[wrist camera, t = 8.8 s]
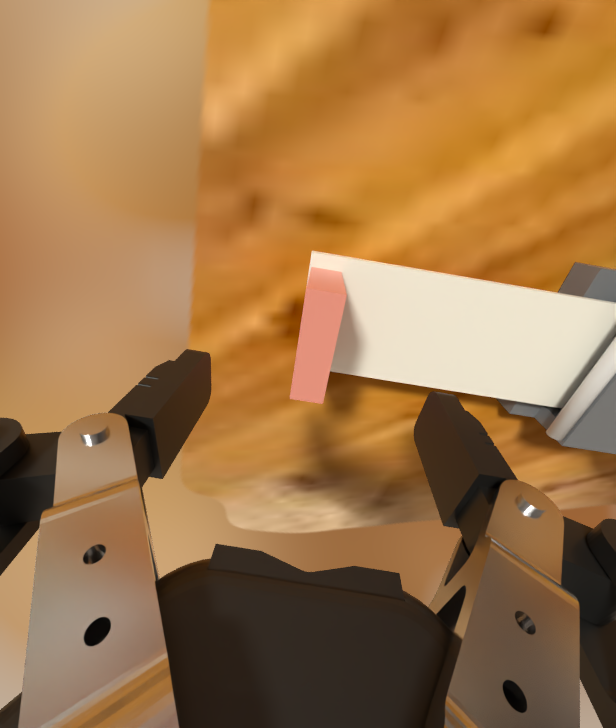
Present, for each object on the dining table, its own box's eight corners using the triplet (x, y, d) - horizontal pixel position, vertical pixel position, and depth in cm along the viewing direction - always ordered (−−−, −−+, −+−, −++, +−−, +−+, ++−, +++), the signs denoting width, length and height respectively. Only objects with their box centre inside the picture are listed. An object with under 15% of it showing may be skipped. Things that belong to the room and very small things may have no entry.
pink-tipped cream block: (312, 250, 17) (306, 269, 12) (635, 305, 18) (754, 344, 13) (295, 361, 21) (286, 409, 16) (563, 404, 21) (633, 464, 16)
